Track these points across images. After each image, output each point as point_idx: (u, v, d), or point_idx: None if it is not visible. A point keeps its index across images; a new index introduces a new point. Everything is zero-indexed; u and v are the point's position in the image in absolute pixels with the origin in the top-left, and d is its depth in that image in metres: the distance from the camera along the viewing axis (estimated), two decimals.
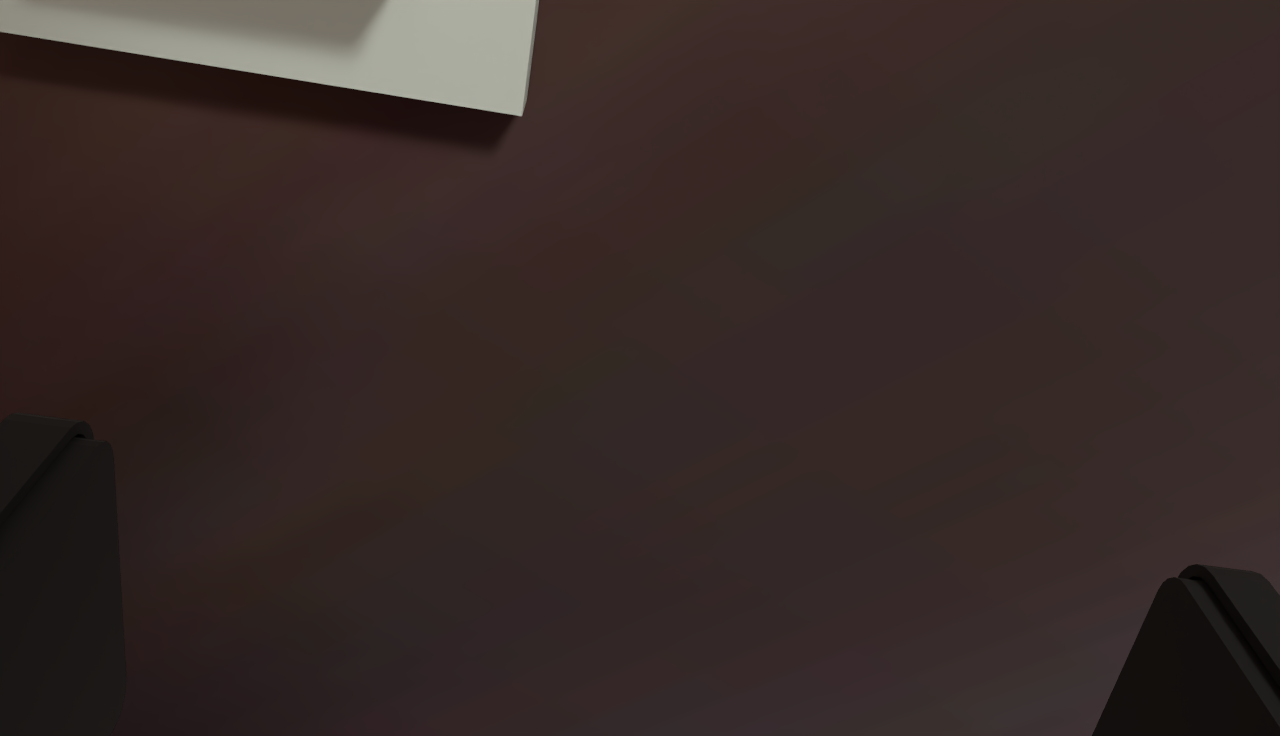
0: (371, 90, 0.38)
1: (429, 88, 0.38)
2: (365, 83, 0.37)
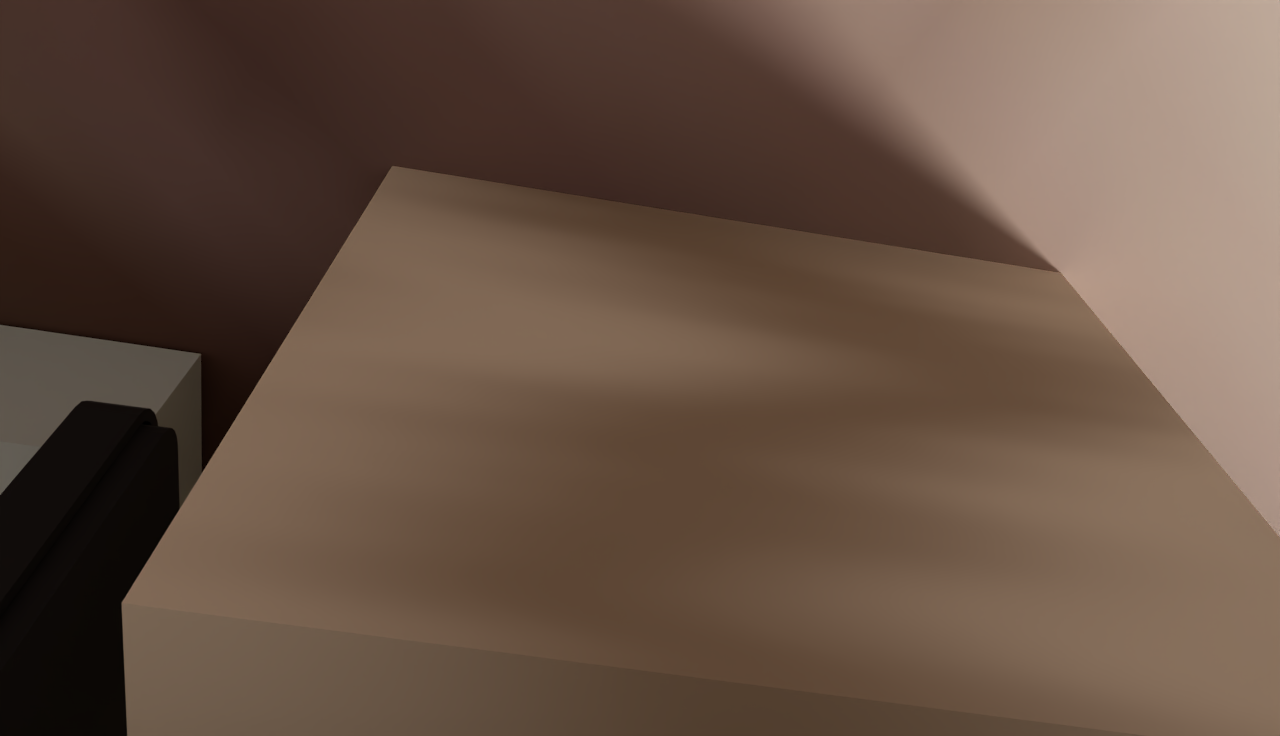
0: None
1: None
2: None
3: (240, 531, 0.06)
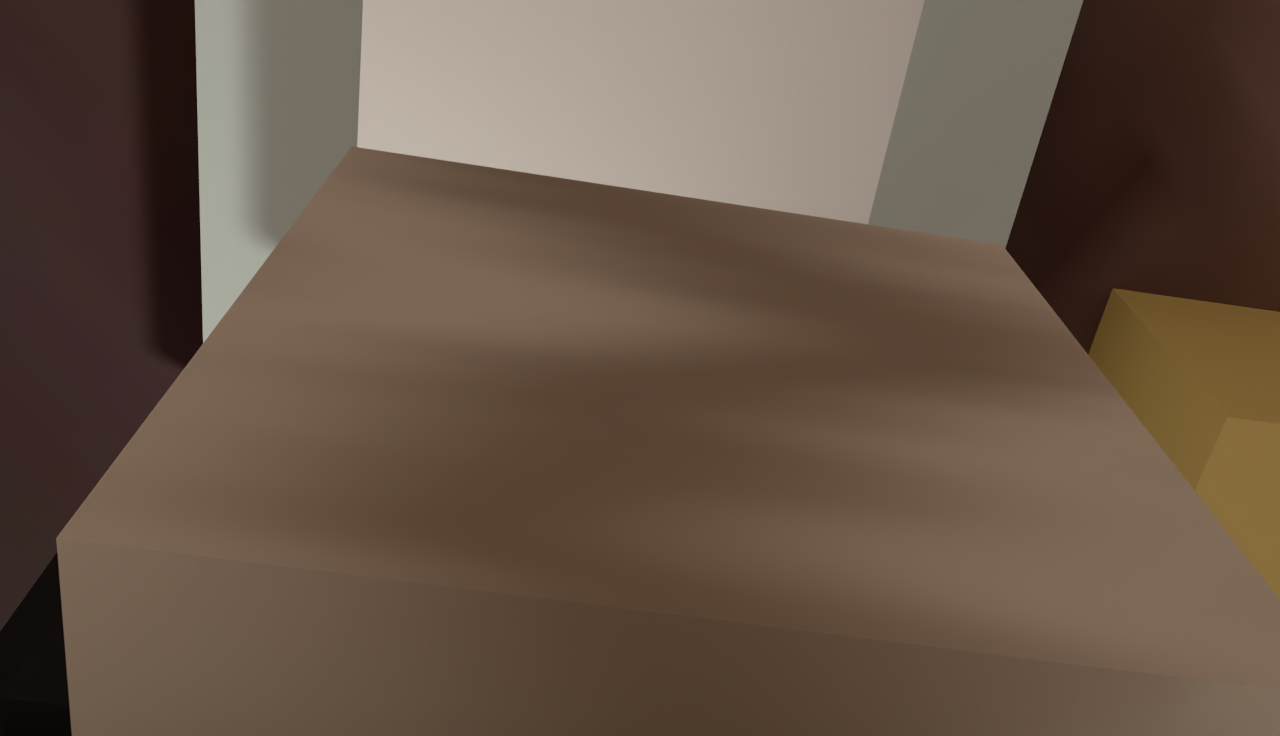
0: (202, 251, 0.27)
1: None
2: (211, 244, 0.27)
3: (176, 475, 0.06)
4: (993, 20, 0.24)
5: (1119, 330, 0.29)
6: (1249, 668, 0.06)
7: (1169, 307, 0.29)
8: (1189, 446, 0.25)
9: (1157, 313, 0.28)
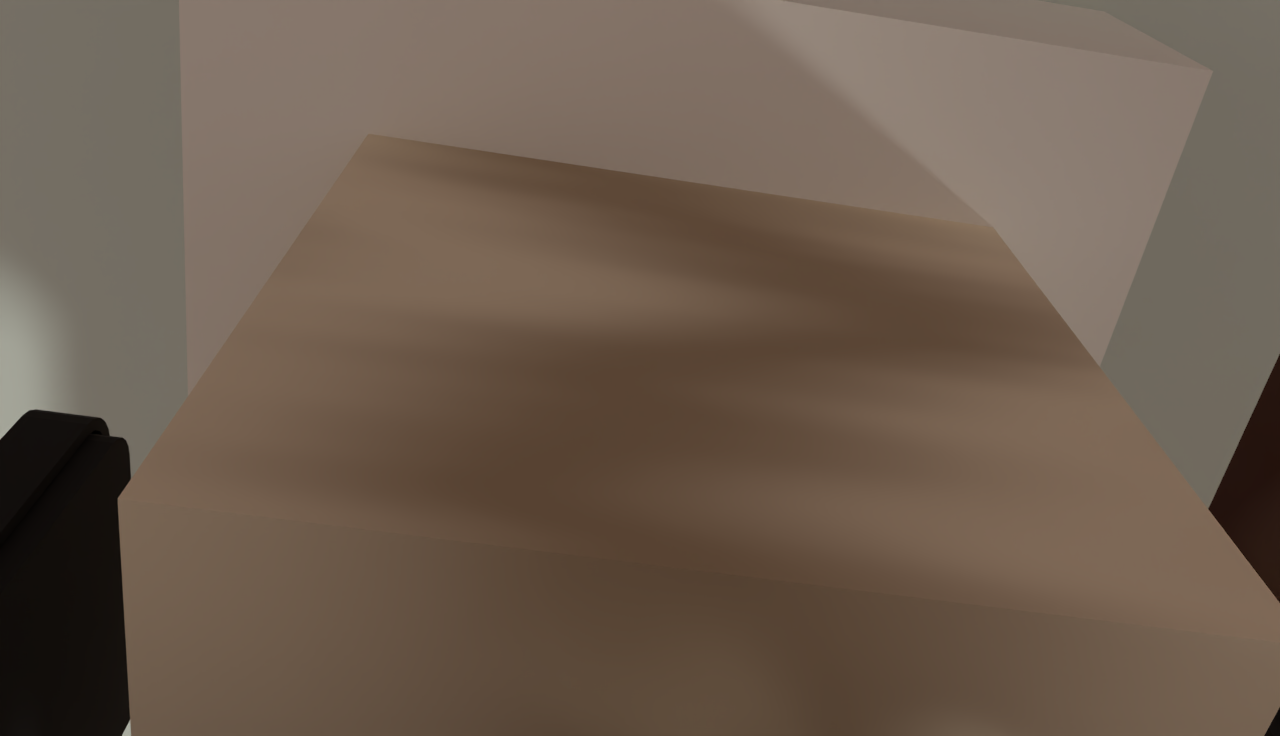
0: None
1: None
2: None
3: (222, 443, 0.07)
4: (1233, 163, 0.15)
5: None
6: (1213, 619, 0.07)
7: None
8: None
9: None
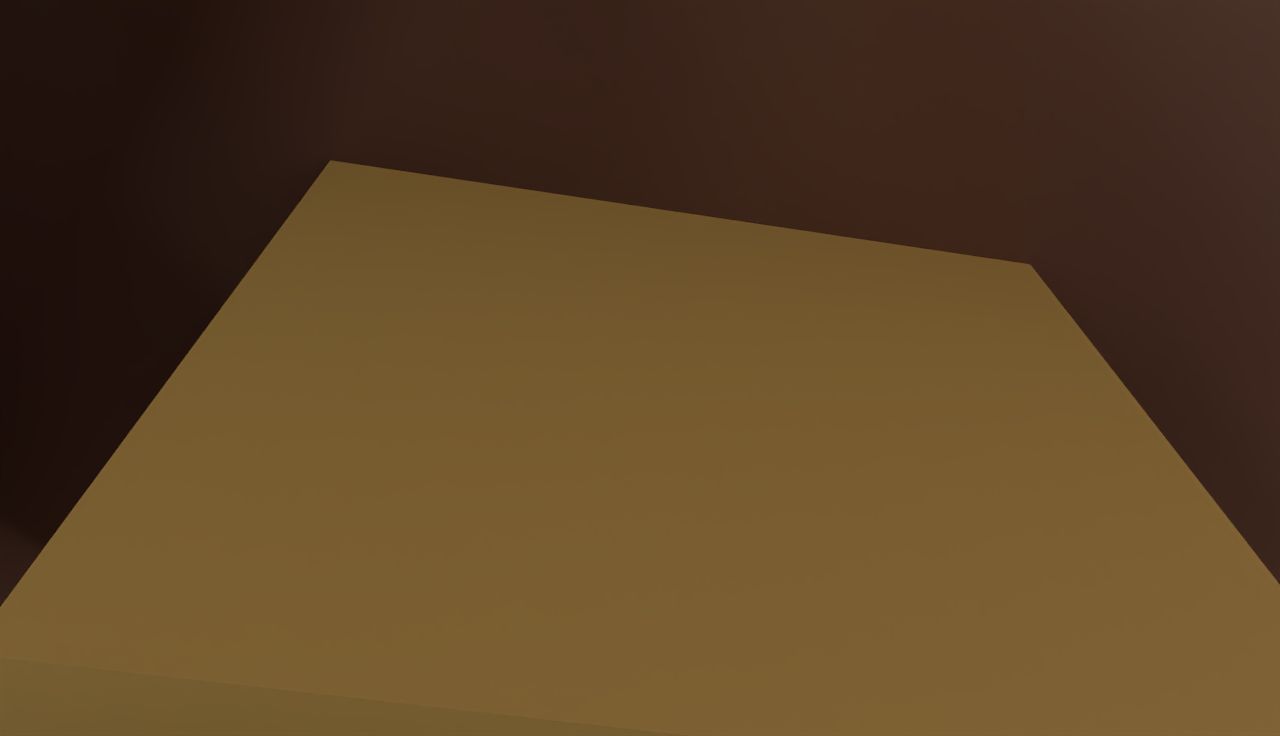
0: None
1: None
2: None
3: None
4: None
5: None
6: None
7: (448, 210, 0.10)
8: None
9: (370, 225, 0.09)
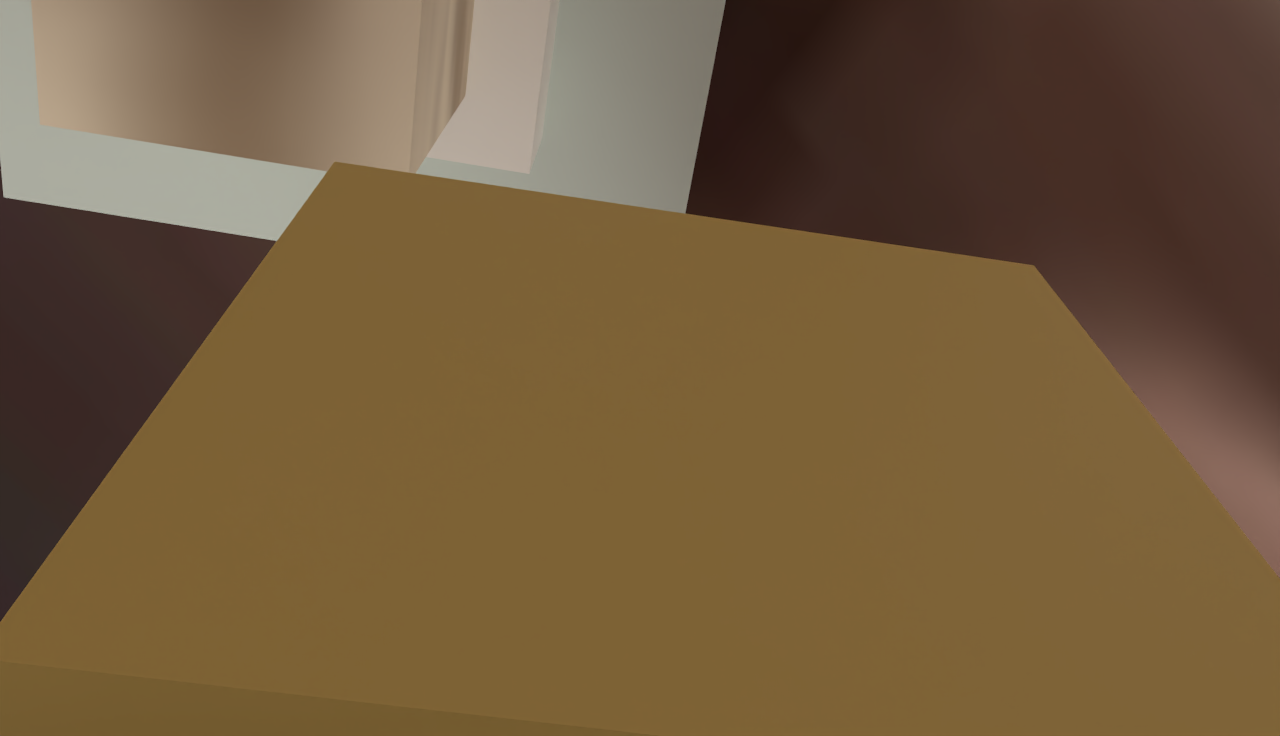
0: None
1: (10, 88, 0.30)
2: None
3: None
4: None
5: None
6: None
7: (453, 213, 0.10)
8: None
9: (375, 226, 0.09)
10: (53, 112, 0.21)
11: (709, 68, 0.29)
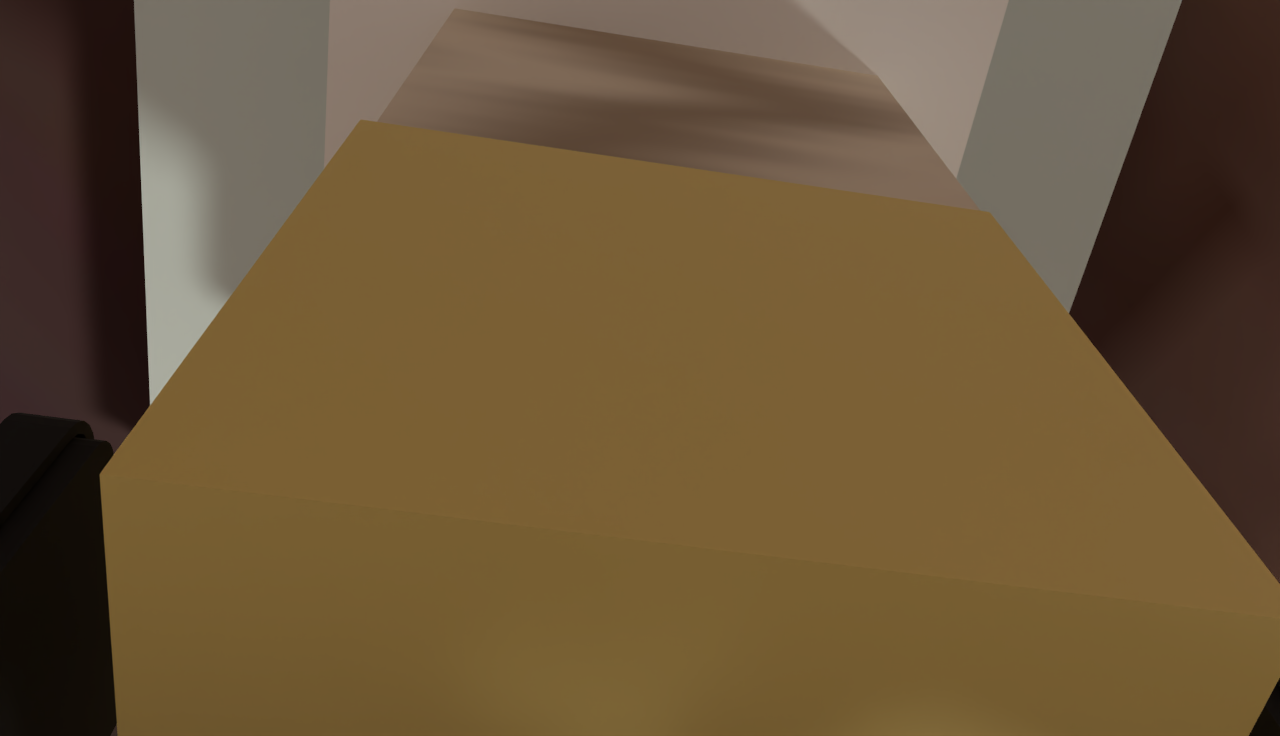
0: (148, 307, 0.23)
1: None
2: (158, 299, 0.23)
3: (412, 121, 0.12)
4: (1067, 50, 0.21)
5: None
6: None
7: (467, 162, 0.11)
8: None
9: (399, 172, 0.11)
10: None
11: None
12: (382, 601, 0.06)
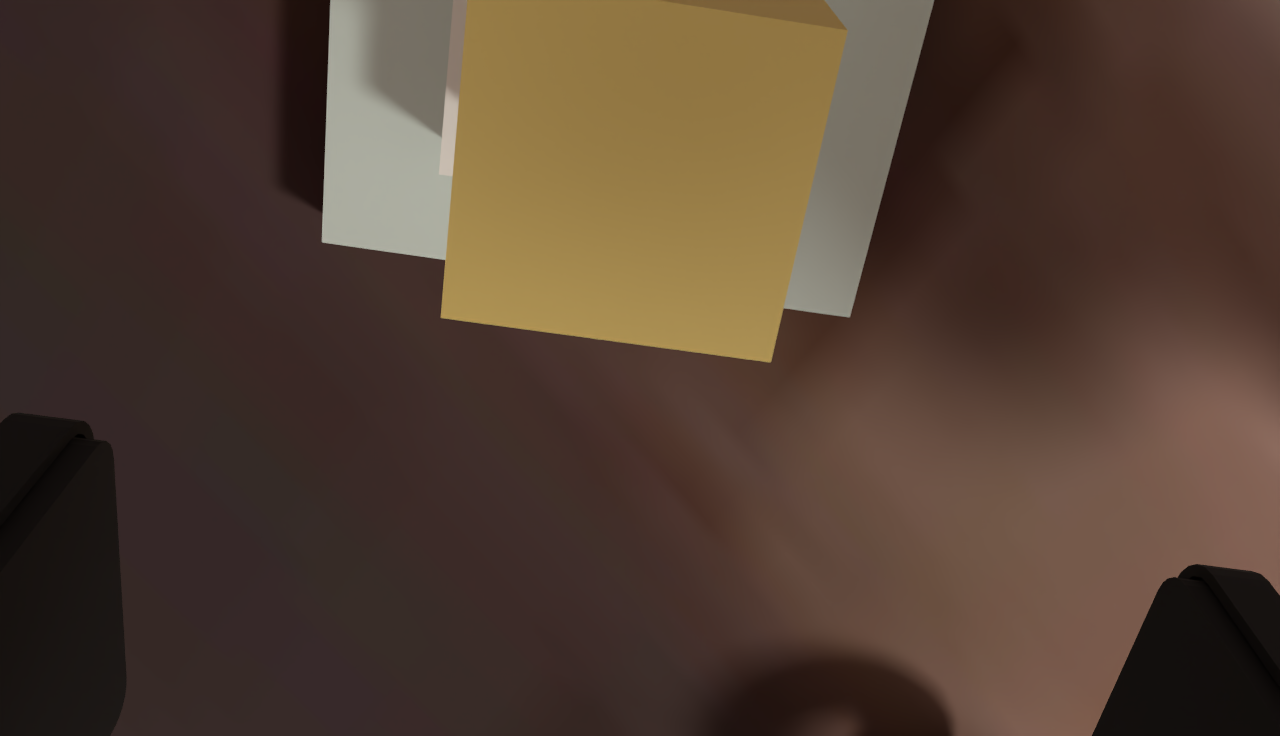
0: (328, 100, 0.37)
1: (337, 157, 0.38)
2: (334, 94, 0.37)
3: None
4: None
5: None
6: None
7: None
8: None
9: None
10: None
11: (895, 135, 0.37)
12: (552, 20, 0.20)
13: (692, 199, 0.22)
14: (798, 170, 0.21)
